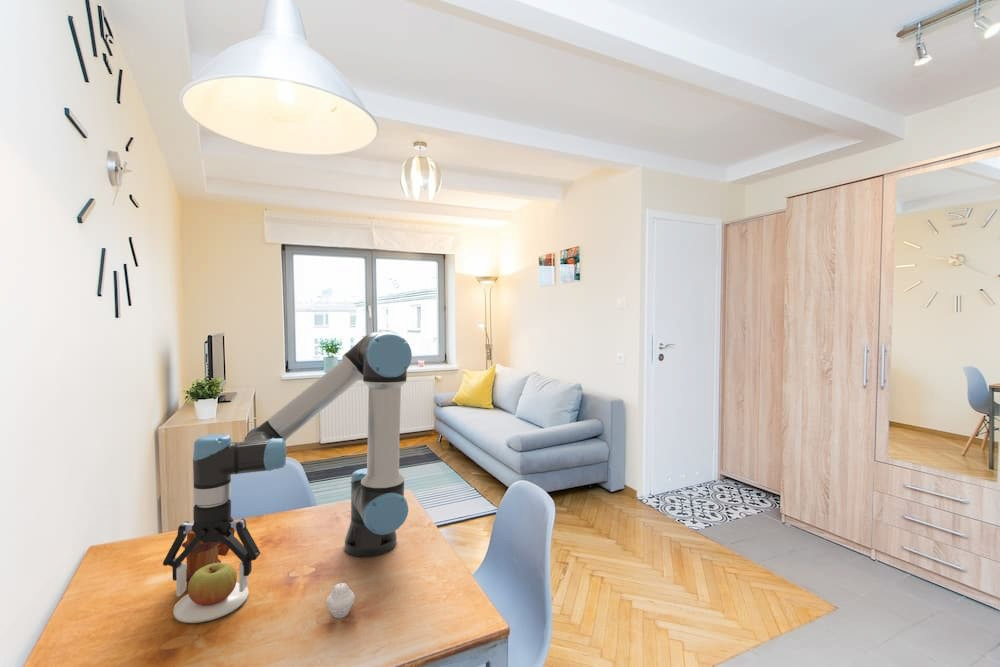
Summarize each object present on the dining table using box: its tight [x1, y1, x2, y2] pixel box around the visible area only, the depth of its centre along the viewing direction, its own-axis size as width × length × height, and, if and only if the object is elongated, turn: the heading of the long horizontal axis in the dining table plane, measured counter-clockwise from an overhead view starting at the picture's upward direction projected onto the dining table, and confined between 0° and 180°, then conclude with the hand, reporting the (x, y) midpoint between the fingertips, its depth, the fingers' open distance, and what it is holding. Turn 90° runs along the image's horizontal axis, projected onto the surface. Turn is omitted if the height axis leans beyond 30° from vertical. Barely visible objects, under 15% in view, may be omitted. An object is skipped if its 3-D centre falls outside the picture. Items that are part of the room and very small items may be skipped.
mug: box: [181, 516, 236, 587], centre depth 120 cm, size 15×8×15 cm, turn 168°
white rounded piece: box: [326, 582, 356, 619], centre depth 105 cm, size 6×6×7 cm
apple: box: [187, 562, 238, 606], centre depth 108 cm, size 10×10×8 cm
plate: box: [173, 581, 249, 624], centre depth 108 cm, size 15×15×1 cm
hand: (212, 590), depth 108 cm, fingers open, 13 cm apart
